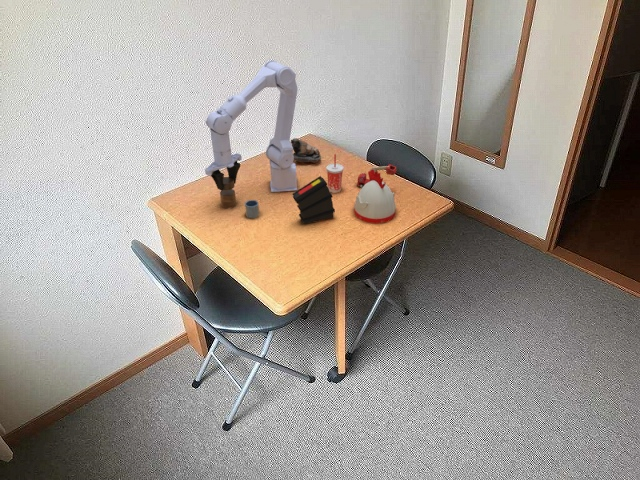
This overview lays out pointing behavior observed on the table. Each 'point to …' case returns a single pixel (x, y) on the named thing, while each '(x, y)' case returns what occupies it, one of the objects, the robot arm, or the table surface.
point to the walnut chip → (228, 183)
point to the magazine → (314, 201)
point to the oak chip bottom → (228, 204)
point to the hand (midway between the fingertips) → (226, 186)
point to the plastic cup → (252, 209)
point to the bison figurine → (304, 151)
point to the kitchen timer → (375, 201)
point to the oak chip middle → (227, 195)
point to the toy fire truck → (389, 170)
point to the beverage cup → (334, 176)
